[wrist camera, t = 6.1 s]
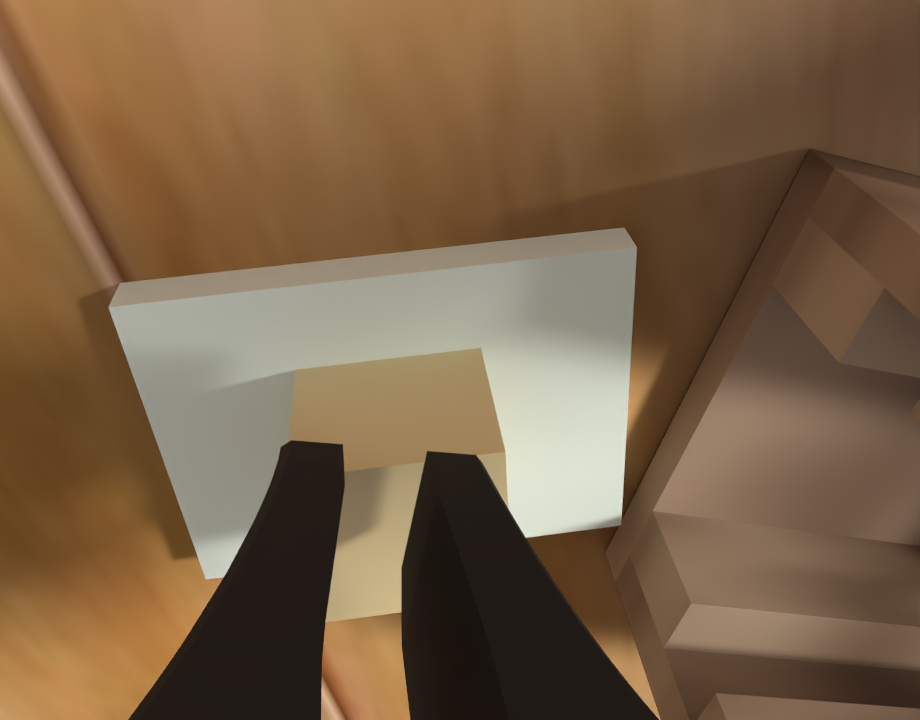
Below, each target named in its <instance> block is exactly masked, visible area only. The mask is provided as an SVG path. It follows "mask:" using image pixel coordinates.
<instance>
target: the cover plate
mask: <svg viewBox="0 0 920 720" xmlns="http://www.w3.org/2000/svg"><path fill="white" fill-rule="evenodd" d="M636 257H637V247H636V245H635V243H634V242H633V240H632V239H631V237H630V236H629V234H628V232H627V231H626V229H625V228H615V229H606V230H596V231H587V232H578V233H569V234H560V235H551V236H542V237H533V238H524V239H515V240H506V241H497V242H488V243H478V244H469V245H460V246H451V247H442V248H433V249H424V250H415V251H406V252H397V253H388V254H379V255H370V256H360V257H351V258H342V259H333V260H324V261H315V262H306V263H297V264H288V265H279V266H270V267H261V268H252V269H242V270H233V271H224V272H215V273H206V274H197V275H188V276H179V277H170V278H161V279H152V280H143V281H134V282H124V283H120V284H119V286H118V288H117V290H116V292H115V294H114V296H113V299H112V301H111V303H110V305H109V307H108V308H109V310H110V313H111V316H112V319H113V322H114V324H115V327H116V330H117V333H118V336H119V338H120V341H121V344H122V347H123V350H124V352H125V355H126V358H127V361H128V363H129V366H130V369H131V372H132V375H133V377H134V380H135V383H136V386H137V389H138V391H139V394H140V397H141V400H142V403H143V405H144V408H145V411H146V414H147V417H148V419H149V422H150V425H151V428H152V430H153V433H154V436H155V439H156V442H157V444H158V447H159V450H160V453H161V456H162V458H163V461H164V464H165V467H166V470H167V472H168V475H169V478H170V481H171V484H172V486H173V489H174V492H175V495H176V497H177V500H178V503H179V506H180V509H181V511H182V514H183V517H184V520H185V523H186V525H187V528H188V531H189V534H190V537H191V539H192V542H193V545H194V548H195V551H196V553H197V556H198V559H199V562H200V565H201V567H202V570H203V573H204V576H205V578H206V579H214V578H221V577H224V576H225V574H226V573H227V571H228V569H229V567H230V565H231V563H232V562H233V560H234V558H235V556H236V554H237V552H238V550H239V548H240V546H241V545H242V543H243V541H244V539H245V537H246V535H247V533H248V531H249V529H250V528H251V526H252V524H253V522H254V520H255V517H256V515H257V513H258V511H259V509H260V506H261V504H262V502H263V500H264V498H265V495H266V493H267V490H268V488H269V485H270V483H271V480H272V477H273V474H274V471H275V468H276V465H277V462H278V458H279V453H280V448H281V446H283V445H285V444H286V443H288V442H289V441H291V440H296V441H308V442H321V443H334V444H343V454H344V475H345V488H344V496H343V503H342V510H341V517H340V524H339V531H338V538H337V545H336V552H335V559H334V566H333V573H332V580H331V587H330V594H329V601H328V608H327V615H326V622H332V621H340V620H347V619H355V618H362V617H370V616H377V615H385V614H392V613H400V612H402V611H401V568H402V563H403V558H404V554H405V549H406V545H407V540H408V536H409V531H410V527H411V522H412V517H413V513H414V508H415V504H416V499H417V495H418V490H419V486H420V481H421V476H422V472H423V467H424V463H425V458H426V454H427V451H434V452H446V453H459V454H472V455H477V457H478V458H479V459H480V460H481V462H482V463H483V465H484V467H485V468H486V470H487V472H488V474H489V476H490V477H491V479H492V481H493V483H494V485H495V486H496V488H497V490H498V492H499V493H500V495H501V497H502V499H503V500H504V502H505V504H506V506H507V507H508V509H509V511H510V512H511V514H512V516H513V517H514V519H515V521H516V522H517V524H518V526H519V527H520V529H521V531H522V532H523V534H524V536H525V537H526V538H528V537H536V536H544V535H551V534H559V533H567V532H574V531H582V530H590V529H597V528H605V527H613V526H620V525H621V520H622V502H623V485H624V467H625V450H626V432H627V415H628V397H629V380H630V362H631V345H632V327H633V309H634V292H635V274H636Z"/></svg>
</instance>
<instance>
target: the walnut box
mask: <svg viewBox="0 0 920 720" xmlns="http://www.w3.org/2000/svg"><path fill="white" fill-rule="evenodd" d="M605 553H606V556H607V559H608V562H609V565H610V568H611V571H612V574H613V577H614V580H615V583H616V586H617V589H618V592H619V595H620V598H621V601H622V604H623V607H624V610H625V613H626V616H627V619H628V622H629V625H630V628H631V631H632V634H633V637H634V640H635V643H636V646H637V649H638V652H639V655H640V658H641V661H642V664H643V667H644V670H645V673H646V676H647V679H648V682H649V685H650V688H651V691H652V694H653V697H654V700H655V703H656V706H657V709H658V712H659V715H660V718H661V720H920V177H919V176H915V175H911V174H907V173H903V172H899V171H895V170H891V169H888V168H884V167H880V166H876V165H872V164H868V163H864V162H860V161H856V160H852V159H848V158H844V157H840V156H836V155H832V154H828V153H824V152H821V151H817V150H813V149H810V150H809V152H808V154H807V156H806V158H805V160H804V162H803V164H802V166H801V168H800V170H799V172H798V174H797V175H796V177H795V179H794V181H793V183H792V185H791V187H790V189H789V191H788V193H787V195H786V197H785V199H784V201H783V203H782V205H781V207H780V209H779V211H778V213H777V215H776V217H775V219H774V221H773V223H772V225H771V227H770V229H769V231H768V233H767V235H766V237H765V239H764V241H763V243H762V245H761V247H760V248H759V250H758V252H757V254H756V256H755V258H754V260H753V262H752V264H751V266H750V268H749V270H748V272H747V274H746V276H745V278H744V280H743V282H742V284H741V286H740V288H739V290H738V292H737V294H736V296H735V298H734V300H733V302H732V304H731V306H730V308H729V310H728V312H727V314H726V316H725V318H724V319H723V321H722V323H721V325H720V327H719V329H718V331H717V333H716V335H715V337H714V339H713V341H712V343H711V345H710V347H709V349H708V351H707V353H706V355H705V357H704V359H703V361H702V363H701V365H700V367H699V369H698V371H697V373H696V375H695V377H694V379H693V381H692V383H691V385H690V387H689V389H688V390H687V392H686V394H685V396H684V398H683V400H682V402H681V404H680V406H679V408H678V410H677V412H676V414H675V416H674V418H673V420H672V422H671V424H670V426H669V428H668V430H667V432H666V434H665V436H664V438H663V440H662V442H661V444H660V446H659V448H658V450H657V452H656V454H655V456H654V458H653V460H652V462H651V463H650V465H649V467H648V469H647V471H646V473H645V475H644V477H643V479H642V481H641V483H640V485H639V487H638V489H637V491H636V493H635V495H634V497H633V499H632V501H631V503H630V505H629V507H628V509H627V511H626V513H625V515H624V517H623V519H622V521H621V525H620V526H619V527H618V529H617V531H616V533H615V534H614V536H613V538H612V540H611V542H610V544H609V546H608V548H607V550H606V552H605Z"/></svg>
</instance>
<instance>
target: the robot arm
mask: <svg viewBox="0 0 920 720" xmlns="http://www.w3.org/2000/svg"><path fill="white" fill-rule="evenodd" d="M344 488H345V475H344V454H343V444H334V443H321V442H308V441H296V440H291V441H289V442H288V443H286V444H285V445H283V446H281V448H280V453H279V458H278V462H277V465H276V468H275V471H274V474H273V477H272V480H271V483H270V485H269V488H268V490H267V493H266V495H265V498H264V500H263V502H262V504H261V506H260V509H259V511H258V513H257V515H256V517H255V520H254V522H253V524H252V526H251V528H250V529H249V531H248V533H247V535H246V537H245V539H244V541H243V543H242V545H241V546H240V548H239V550H238V552H237V554H236V556H235V558H234V560H233V562H232V563H231V565H230V567H229V569H228V571H227V573H226V574H225V576H224V578H223V580H222V581H221V583H220V585H219V586H218V588H217V589H216V591H215V593H214V594H213V596H212V598H211V599H210V601H209V602H208V604H207V606H206V607H205V609H204V610H203V612H202V614H201V615H200V617H199V618H198V620H197V622H196V623H195V625H194V626H193V628H192V630H191V631H190V633H189V634H188V636H187V638H186V639H185V641H184V642H183V644H182V645H181V647H180V648H179V650H178V651H177V652H176V654H175V655H174V657H173V658H172V660H171V661H170V663H169V664H168V666H167V667H166V669H165V670H164V671H163V673H162V674H161V676H160V677H159V678H158V680H157V681H156V683H155V684H154V685H153V687H152V688H151V690H150V691H149V692H148V694H147V695H146V696H145V698H144V699H143V700H142V702H141V703H140V704H139V706H138V707H137V709H136V710H135V711H134V713H133V714H132V715H131V717H130V718H129V719H128V720H321V676H322V653H323V642H324V630H325V622H326V615H327V608H328V601H329V594H330V587H331V580H332V573H333V566H334V559H335V552H336V545H337V538H338V531H339V524H340V517H341V510H342V503H343V496H344ZM401 611H402V650H403V659H404V668H405V677H406V685H407V694H408V702H409V711H410V719H411V720H659V719H658V718H657V717H656V716H655V714H654V713H653V712H652V711H651V710H650V709H649V707H648V706H647V705H646V704H645V703H644V702H643V700H642V699H641V698H640V697H639V696H638V694H637V693H636V692H635V691H634V689H633V688H632V687H631V686H630V685H629V683H628V682H627V681H626V680H625V678H624V677H623V676H622V675H621V673H620V672H619V671H618V669H617V668H616V667H615V666H614V664H613V663H612V662H611V661H610V659H609V658H608V657H607V655H606V654H605V653H604V651H603V650H602V648H601V647H600V646H599V644H598V643H597V642H596V640H595V639H594V638H593V636H592V635H591V634H590V632H589V631H588V630H587V628H586V627H585V626H584V624H583V623H582V622H581V620H580V619H579V617H578V616H577V614H576V613H575V612H574V610H573V609H572V607H571V606H570V604H569V603H568V602H567V600H566V599H565V597H564V596H563V594H562V593H561V591H560V590H559V588H558V587H557V585H556V584H555V582H554V581H553V579H552V578H551V576H550V575H549V573H548V572H547V570H546V569H545V567H544V566H543V564H542V563H541V561H540V560H539V558H538V557H537V555H536V553H535V552H534V550H533V549H532V547H531V545H530V544H529V542H528V541H527V539H526V537H525V536H524V534H523V532H522V531H521V529H520V527H519V526H518V524H517V522H516V521H515V519H514V517H513V516H512V514H511V512H510V511H509V509H508V507H507V506H506V504H505V502H504V500H503V499H502V497H501V495H500V493H499V492H498V490H497V488H496V486H495V485H494V483H493V481H492V479H491V477H490V476H489V474H488V472H487V470H486V468H485V467H484V465H483V463H482V462H481V460H480V459H479V458H478V457H477V455H472V454H459V453H446V452H434V451H427V454H426V458H425V463H424V467H423V472H422V476H421V481H420V486H419V490H418V495H417V499H416V504H415V508H414V513H413V517H412V522H411V527H410V531H409V536H408V540H407V545H406V549H405V554H404V558H403V563H402V568H401Z"/></svg>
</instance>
